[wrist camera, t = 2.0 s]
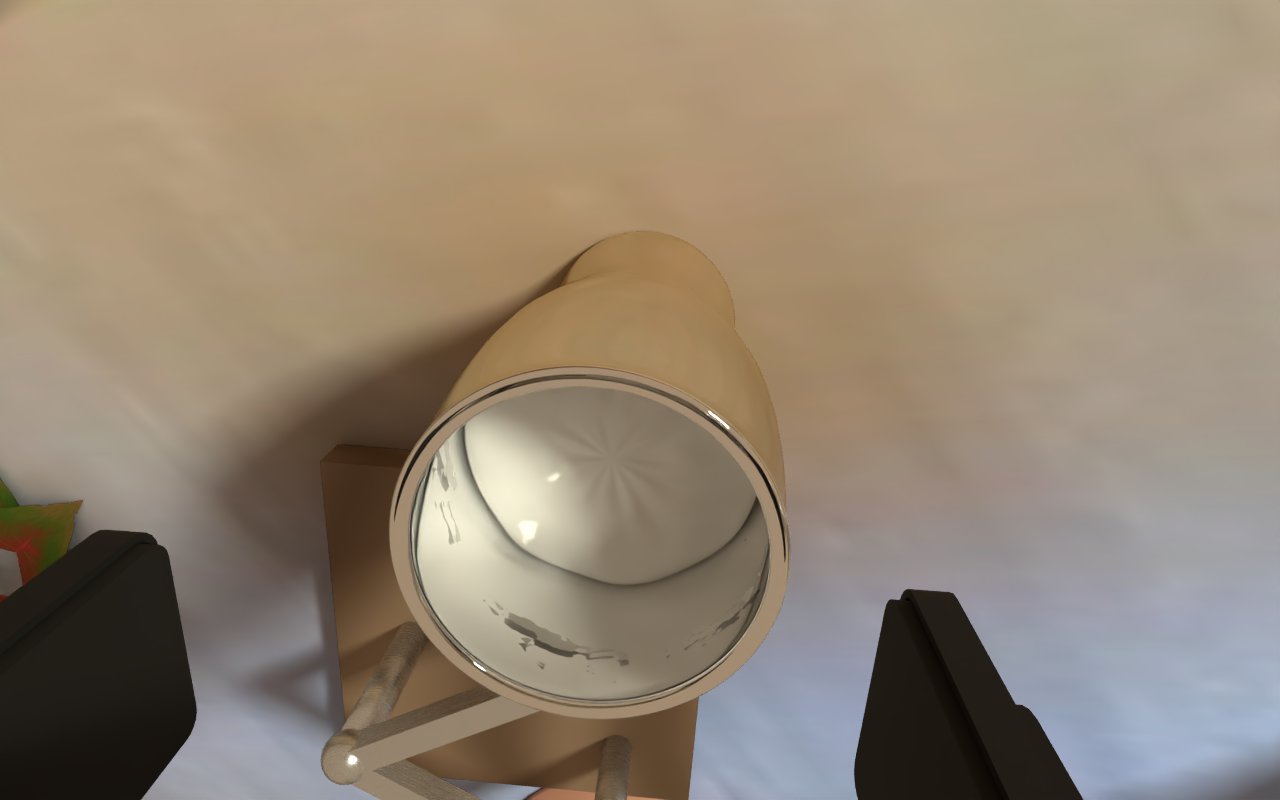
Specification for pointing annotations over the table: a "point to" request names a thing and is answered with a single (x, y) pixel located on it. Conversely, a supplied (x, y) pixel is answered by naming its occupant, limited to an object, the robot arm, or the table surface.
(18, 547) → the lily flower
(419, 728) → the bent wire
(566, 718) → the board
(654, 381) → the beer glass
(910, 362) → the table surface
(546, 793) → the pad
